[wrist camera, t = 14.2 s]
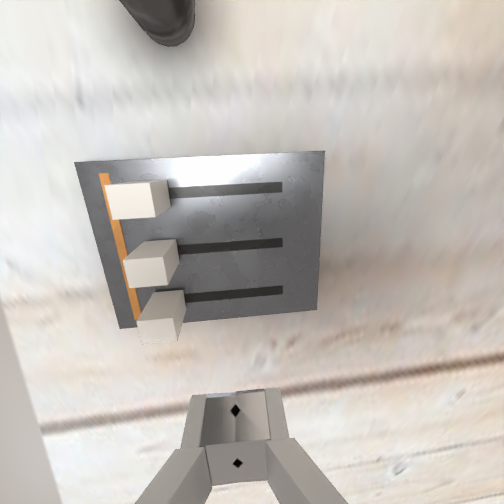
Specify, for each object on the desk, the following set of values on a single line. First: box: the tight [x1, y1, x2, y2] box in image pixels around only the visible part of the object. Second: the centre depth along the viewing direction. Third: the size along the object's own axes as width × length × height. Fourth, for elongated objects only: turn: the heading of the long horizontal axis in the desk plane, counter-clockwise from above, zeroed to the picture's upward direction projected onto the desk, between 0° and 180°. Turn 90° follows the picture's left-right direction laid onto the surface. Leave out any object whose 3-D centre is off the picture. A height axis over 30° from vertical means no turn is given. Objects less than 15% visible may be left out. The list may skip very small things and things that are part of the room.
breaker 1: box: [104, 180, 171, 220], centre depth 19 cm, size 3×2×5 cm
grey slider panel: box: [74, 151, 325, 329], centre depth 25 cm, size 22×17×2 cm
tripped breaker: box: [136, 290, 186, 345], centre depth 23 cm, size 3×2×5 cm
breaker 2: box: [123, 239, 180, 288], centre depth 21 cm, size 3×2×5 cm
